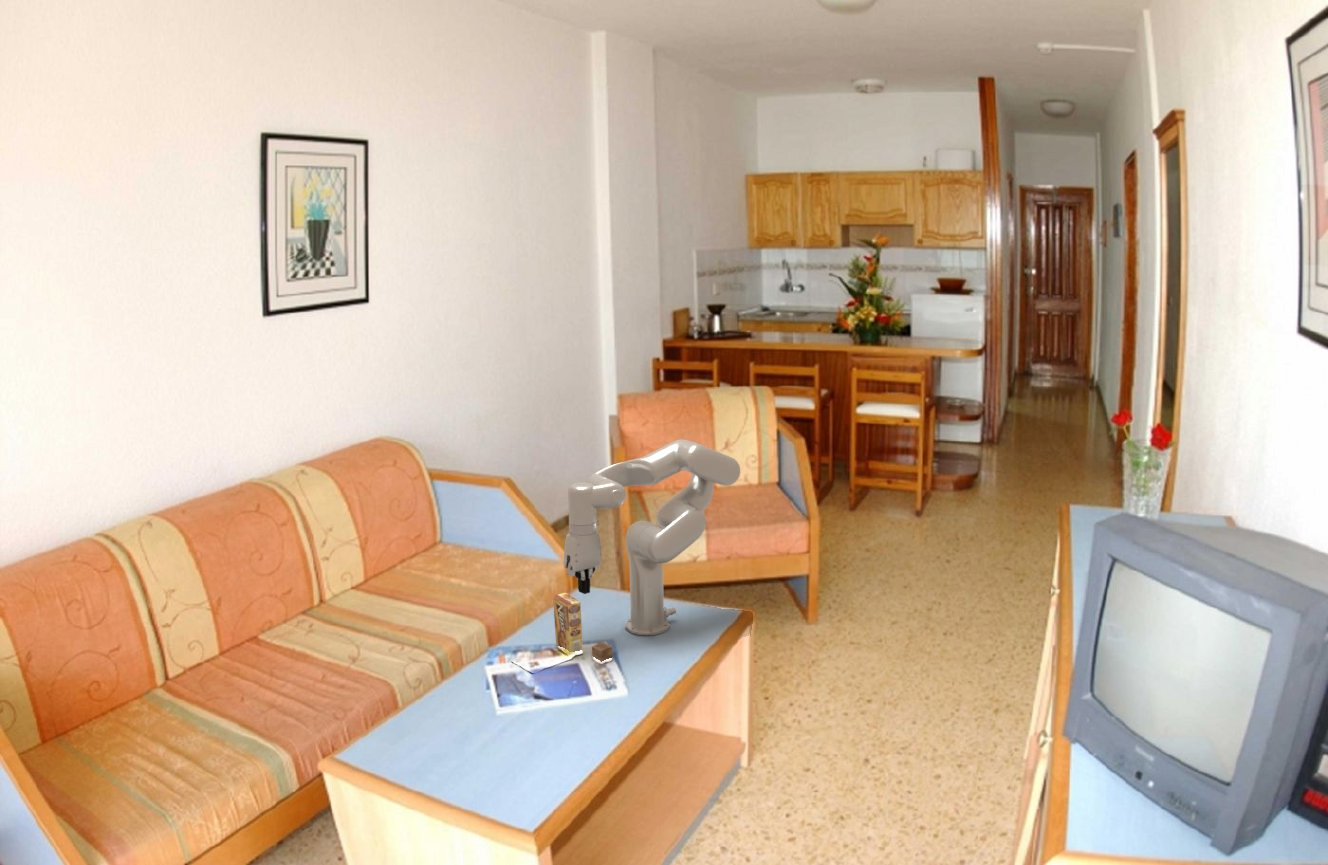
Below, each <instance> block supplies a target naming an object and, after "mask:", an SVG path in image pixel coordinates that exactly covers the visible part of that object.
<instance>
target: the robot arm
mask: <svg viewBox="0 0 1328 865" xmlns="http://www.w3.org/2000/svg"><path fill="white" fill-rule="evenodd" d="M682 471H686V472H688V473H691V477H690V479H689V482H688V483H687V485H686V486H685V487H684V488H683V489H682V490H681V491H679V492H678V493H677V494H675V496H673V497H672V498H670V499H669V500H668V501H667V502H665V503H664V504H663V505H662V506H661V507H660V508H659V509H658V511H657V512H656V513H657V514H656V522H657V523H658V524H655V523H654V522H651V521H648V520H637V521H635V522H633V523H632V524H631V525H630V526H629V527H628V528H627V531H626V534H625V546H626V551H627V556H628V562H629V592H630V593H629V594H630V619H628V620H627V621H626V622H625V629H626V631H628V632H629V633H631V634H634V635H638V636H657V635H660V634H663V633H665V632H666V631H668V629H669V628H670V620H668V619H667V618H668V617H669V616H673V615H674V614H677V610H676V608H675V607H674V606H673V607H670V608H667V607H665V606H664V604H665V603H664V601H665V600H664V567H663V564H667V563H669V562H671V561H673V560H674V559H675V558H677V557H678V556H680V555H681V554H682V553H683V552H684V551H686V550H687V549H688V548H689V547H690V546H692V545H693V544H694V543H695V542H696V541H697V540H699V539H700V538H701V536H702V535H703V533H704V531H705V530H706V526H707V519H706V515H705V513H704V510H706V508H707V507H709V505H710V504H711V502H712V500H713V495H714V490H715V484H717V485H719V486H724V487H729V486H731V485H734V484H735V483H736V482H737V481H738V480H739V478H740V476H741V466H740V464H739V461H737V460H736V459H735V458H734V457H732V456H729V455H727V454H725V453H721V452H719V451H717V450H714V449H713V448H709V447H708V446H705V445H703V444H701V443H698V442H695V441H691V440H688V439H683V438H682V439H680V438H679V439H677V440H674V441H672V442H670V443H667V444H665V445H663V446H662V447H661V448H658V449H657V450H653V451H652V452H650V453H648V454H646V455H644V456H642V457H638V458H634V459H629V460H626V461H623V462H618V463H615V464H612V465H608V466H606V467H604V468H602V469H600V470H598V471H597V472H594V473H592V474H591V475H590V476H589V477H588V478H587V479H586V481H584V482H583V481H582V482H580V481H579V482H575V483H572V484H571V485H569V487H568V492H567V493H568V494H567V495H568V533H567V534H566V537H565V542H564V550H563V552H564V553H563V566H564V568H565V569H566V575H567V576H568V577H575V578H576V579H577V588H578V592H580V593H581V594H583V595H587V594H589V593H591V579H592V578H593V574H594V572H595V571H597V570H598V569H599V568H601V563H602V556H603V555H602V554H603V553H602V543H601V537H600V533H599V530H598V528H597V527H598V526H599V525H600V521H599V520H598V519H597V518H598V517H597V510H613V509H616V508H619V507H621V506H622V505H624V503H625V501H626V499H627V491H626V488H625V487H631V486H632V487H633V486H634V487H635V486H637V487H639V486H642V487H644V486H655V485H658V484H660V483H661V482H662V481H665V480H667V479H668V478H670V477H672V476H674V475H677V474H678V473H680V472H682Z"/></svg>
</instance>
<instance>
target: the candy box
mask: <svg viewBox="0 0 1328 865" xmlns="http://www.w3.org/2000/svg"><path fill="white" fill-rule="evenodd" d="M552 597H553V598H552V599H553V616H554V633H555V647H556V646H560V647H563V648H565V649H567V650H568V651H569V652H575V651H580V650H584V648H583V630H582V628H583V624H582V608H581V601H579V600H578V599H576V598H575V597H574V596H572V595H570V594H568V593H567V592H562V593H559V594H555V595H553V596H552Z"/></svg>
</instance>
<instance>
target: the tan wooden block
mask: <svg viewBox="0 0 1328 865" xmlns="http://www.w3.org/2000/svg"><path fill="white" fill-rule="evenodd" d="M613 649H614V646H612V645H610V644H608V643H606V642H604V641H603V642H601V643H597V644H594V645H592V646H591V657H592V656H593V657H595V658H596V659H598V660H600V661H601V662H602V661H604V660H606V659H609V658H612V657H613V658H614V650H613Z"/></svg>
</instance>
